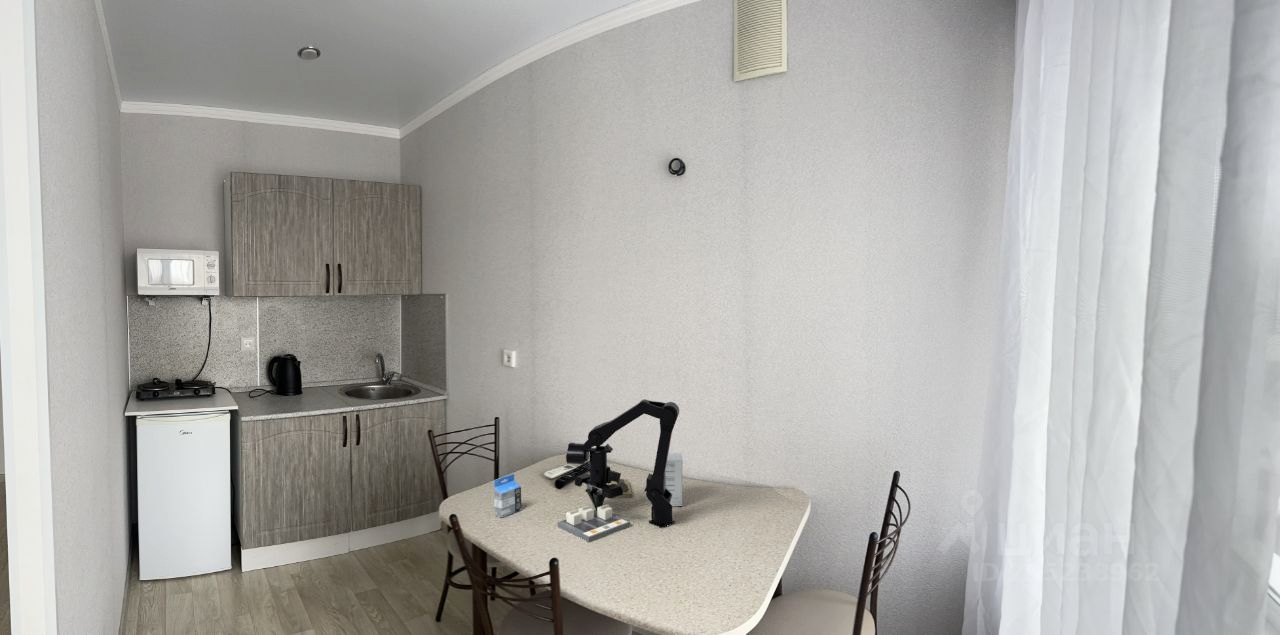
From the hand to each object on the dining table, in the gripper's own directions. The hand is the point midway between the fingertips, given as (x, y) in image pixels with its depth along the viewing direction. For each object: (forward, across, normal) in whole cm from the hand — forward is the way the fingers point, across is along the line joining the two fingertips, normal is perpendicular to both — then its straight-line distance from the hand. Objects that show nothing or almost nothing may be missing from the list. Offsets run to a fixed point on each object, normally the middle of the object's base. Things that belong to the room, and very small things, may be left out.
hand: (598, 510), depth 195 cm
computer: (+3, +15, -23) cm, 28 cm away
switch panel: (+3, -4, +5) cm, 7 cm away
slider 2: (+1, -3, 0) cm, 3 cm away
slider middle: (+1, 0, +5) cm, 5 cm away
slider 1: (+1, 0, +10) cm, 10 cm away
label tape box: (+3, +25, +19) cm, 32 cm away
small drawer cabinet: (+3, -6, -28) cm, 29 cm away
